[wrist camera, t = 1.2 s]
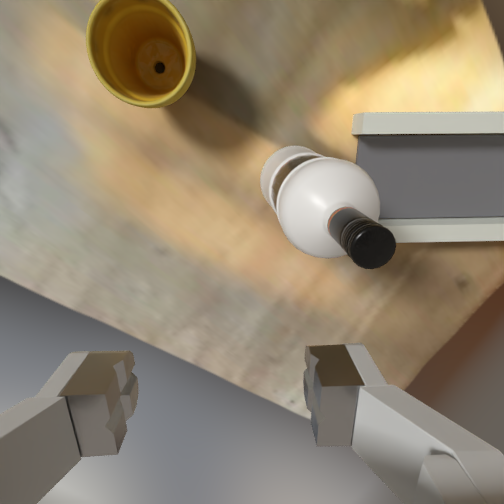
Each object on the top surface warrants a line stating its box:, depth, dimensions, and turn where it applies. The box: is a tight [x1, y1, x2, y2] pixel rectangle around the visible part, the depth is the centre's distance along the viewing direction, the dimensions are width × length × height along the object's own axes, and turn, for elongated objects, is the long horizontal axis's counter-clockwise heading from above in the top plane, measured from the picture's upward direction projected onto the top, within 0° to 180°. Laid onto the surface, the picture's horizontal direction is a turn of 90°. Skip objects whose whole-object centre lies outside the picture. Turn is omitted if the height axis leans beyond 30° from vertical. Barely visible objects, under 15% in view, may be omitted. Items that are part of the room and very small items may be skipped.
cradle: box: [352, 112, 504, 243], centre depth 44 cm, size 17×30×5 cm, turn 90°
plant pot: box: [86, 0, 196, 108], centre depth 36 cm, size 10×10×10 cm
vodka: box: [260, 146, 396, 269], centre depth 32 cm, size 9×9×30 cm
